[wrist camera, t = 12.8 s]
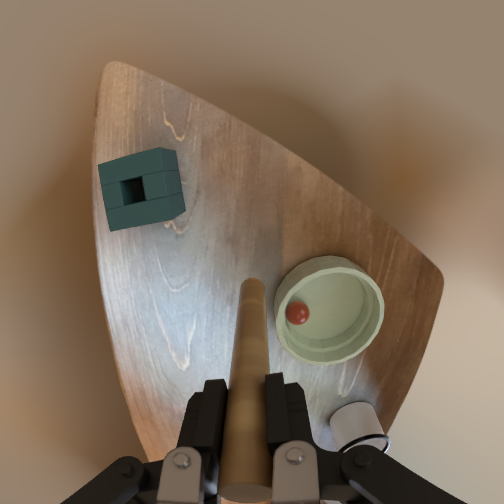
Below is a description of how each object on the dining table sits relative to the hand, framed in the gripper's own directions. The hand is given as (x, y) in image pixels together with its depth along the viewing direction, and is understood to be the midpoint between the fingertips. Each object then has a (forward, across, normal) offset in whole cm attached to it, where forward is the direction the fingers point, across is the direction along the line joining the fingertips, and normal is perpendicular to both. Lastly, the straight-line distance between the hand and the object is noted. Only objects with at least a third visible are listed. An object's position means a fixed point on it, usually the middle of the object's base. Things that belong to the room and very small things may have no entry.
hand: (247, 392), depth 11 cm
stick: (+11, 0, 0) cm, 11 cm away
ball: (+22, -4, +9) cm, 25 cm away
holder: (+25, +11, -9) cm, 28 cm away
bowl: (+25, -8, +10) cm, 27 cm away
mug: (+25, -12, +36) cm, 45 cm away
